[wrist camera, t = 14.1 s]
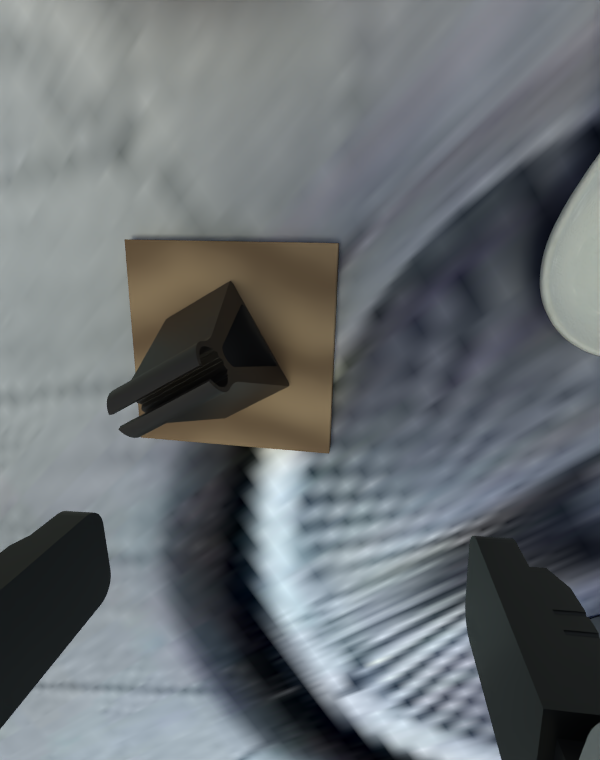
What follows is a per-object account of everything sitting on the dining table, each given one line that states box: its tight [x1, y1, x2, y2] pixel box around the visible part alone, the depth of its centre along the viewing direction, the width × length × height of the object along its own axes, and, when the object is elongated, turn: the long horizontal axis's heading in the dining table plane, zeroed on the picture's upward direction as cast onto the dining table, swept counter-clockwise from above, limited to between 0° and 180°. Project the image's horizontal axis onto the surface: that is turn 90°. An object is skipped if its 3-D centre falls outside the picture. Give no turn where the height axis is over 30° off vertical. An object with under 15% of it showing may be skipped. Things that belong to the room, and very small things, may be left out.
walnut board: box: [125, 240, 339, 453], centre depth 34 cm, size 16×16×1 cm
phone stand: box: [107, 281, 289, 438], centre depth 28 cm, size 9×6×12 cm, turn 29°
